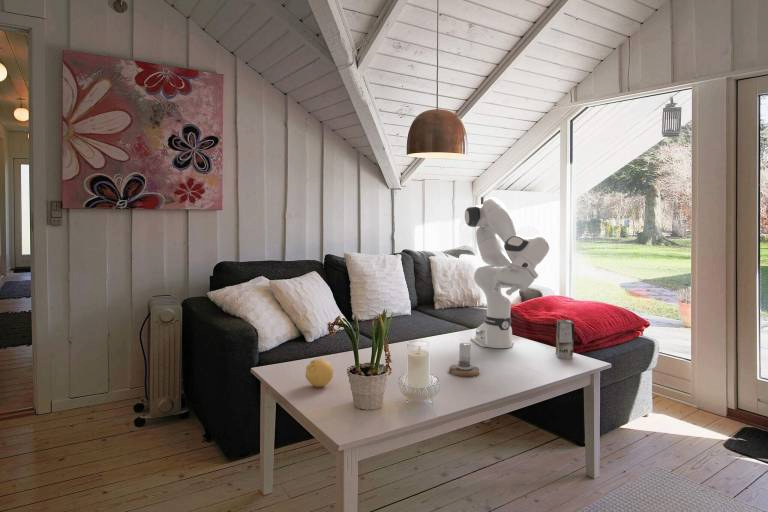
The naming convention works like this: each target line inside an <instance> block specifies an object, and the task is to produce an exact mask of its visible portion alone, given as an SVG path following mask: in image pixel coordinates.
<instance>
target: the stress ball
mask: <svg viewBox="0 0 768 512" xmlns="http://www.w3.org/2000/svg"><path fill="white" fill-rule="evenodd" d="M333 377H334V368H333V366H332V365H331V363H330V362H329V361H328V360H327V359H323V358H317V359H313V360H311V361H310V362H309V363H308V364H307V366H306V368H305V379H306V380H307V381H308V382H309V384H311V385H312V386H314V387H316V388H323V387H324V386H327V385H328V384H329V383H331V381H332V379H333Z"/></svg>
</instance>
